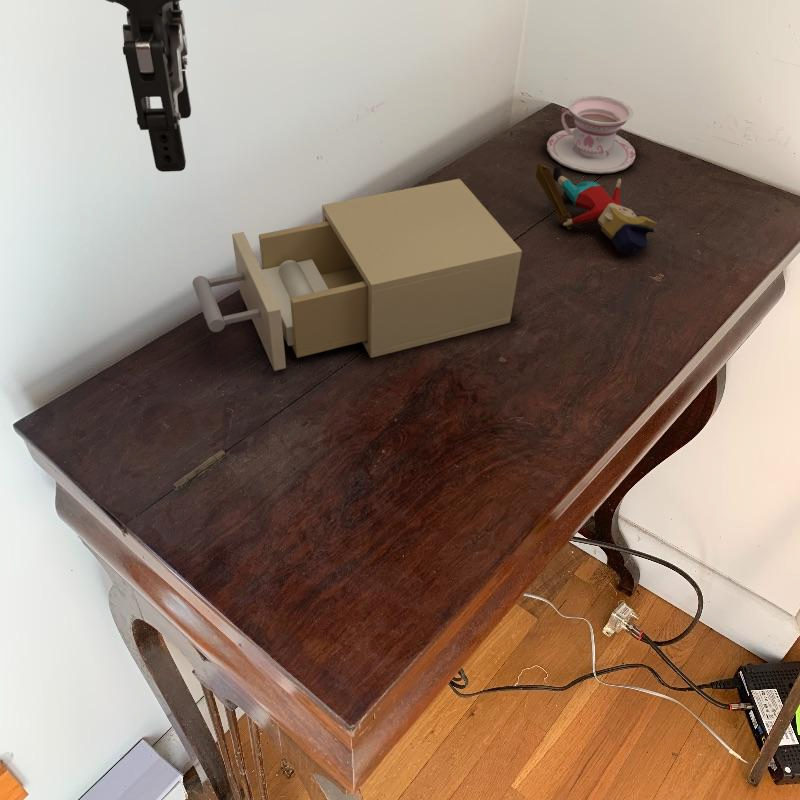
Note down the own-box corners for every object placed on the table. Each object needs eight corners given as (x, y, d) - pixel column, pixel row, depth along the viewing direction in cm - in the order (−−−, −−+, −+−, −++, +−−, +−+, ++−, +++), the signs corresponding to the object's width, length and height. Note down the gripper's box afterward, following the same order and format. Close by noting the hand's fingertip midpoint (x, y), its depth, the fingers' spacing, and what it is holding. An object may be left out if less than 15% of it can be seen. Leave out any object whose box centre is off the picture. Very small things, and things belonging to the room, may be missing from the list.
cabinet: (370, 358, 79) (371, 284, 73) (325, 276, 88) (321, 204, 82) (510, 322, 84) (522, 250, 77) (453, 248, 93) (459, 178, 86)
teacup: (637, 139, 113) (648, 96, 108) (631, 182, 105) (643, 137, 100) (552, 126, 115) (559, 83, 110) (540, 167, 106) (548, 123, 102)
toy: (591, 146, 98) (676, 210, 90) (577, 192, 103) (656, 257, 94) (531, 158, 94) (614, 226, 86) (519, 206, 99) (597, 275, 90)
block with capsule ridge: (343, 333, 79) (342, 304, 76) (288, 346, 77) (285, 317, 75) (313, 277, 85) (311, 249, 82) (261, 288, 83) (258, 260, 81)
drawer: (222, 384, 75) (212, 324, 70) (193, 302, 83) (181, 243, 78) (414, 336, 81) (417, 277, 75) (368, 264, 89) (368, 206, 84)
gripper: (89, -117, 57) (135, 102, 69) (56, -53, 47) (116, 191, 59) (197, -117, 58) (224, 100, 70) (186, -53, 48) (220, 187, 60)
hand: (175, 141), depth 64 cm, fingers open, 8 cm apart
